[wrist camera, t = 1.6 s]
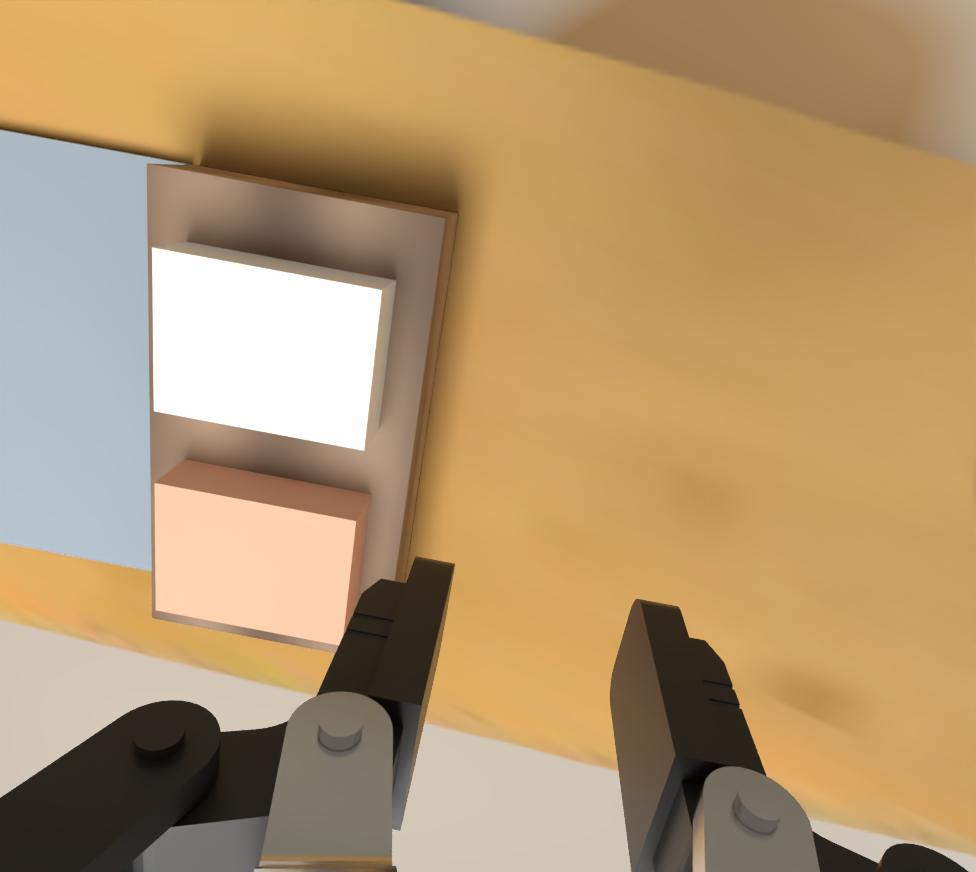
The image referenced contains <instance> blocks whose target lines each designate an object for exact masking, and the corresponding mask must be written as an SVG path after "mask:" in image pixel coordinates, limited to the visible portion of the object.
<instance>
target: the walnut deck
mask: <svg viewBox="0 0 976 872" xmlns="http://www.w3.org/2000/svg"><path fill="white" fill-rule="evenodd" d="M458 214H459V213H454V212H449V211H443V210H438V209H433V208H427V207H422V206H416V205H411V204H405V203H400V202H394V201H389V200H384V199H378V198H373V197H367V196H362V195H356V194H351V193H345V192H340V191H335V190H329V189H324V188H318V187H313V186H307V185H302V184H296V183H291V182H286V181H280V180H275V179H269V178H264V177H258V176H253V175H247V174H242V173H237V172H231V171H226V170H220V169H215V168H209V167H204V166H196V165H172V164H148V163H147V234H148V315H149V395H150V476H151V556H152V618H155V619H160V620H165V621H170V622H176V623H181V624H186V625H191V626H196V627H202V628H207V629H212V630H217V631H223V632H228V633H233V634H238V635H243V636H249V637H254V638H259V639H264V640H269V641H275V642H280V643H285V644H290V645H296V646H301V647H306V648H311V649H316V650H322V651H327V652H332V653H336V651H337V649H338V646H339V645H335V644H329V643H324V642H319V641H314V640H308V639H303V638H298V637H293V636H288V635H282V634H277V633H272V632H267V631H262V630H256V629H251V628H246V627H241V626H235V625H230V624H225V623H220V622H215V621H209V620H204V619H199V618H194V617H188V616H183V615H178V614H173V613H168V612H162V611H157V610H156V582H155V482H156V481H158V480H159V479H160V478H162V477H163V476H164V475H165V474H167V473H168V472H169V471H171V470H172V469H173V468H174V467H176V466H177V465H178V464H180V463H181V462H182V461H183V460H185V459H186V460H191V461H197V462H202V463H207V464H213V465H218V466H223V467H228V468H234V469H239V470H244V471H250V472H255V473H260V474H266V475H271V476H276V477H281V478H287V479H292V480H297V481H303V482H308V483H313V484H318V485H324V486H329V487H334V488H340V489H345V490H350V491H356V492H361V493H366V494H371V497H370V506H369V514H368V523H367V531H366V539H365V548H364V556H363V565H362V573H361V581H360V590H359V598H358V601H359V599H360V596H361V594H362V593H363V592H364V591H365V590H367V589H368V588H369V587H371V586H372V585H373V584H374V583H376V582H377V581H378V580H380V579H386V580H392V581H397V582H402V583H404V582H405V575H406V568H407V561H408V555H409V548H410V541H411V534H412V527H413V521H414V514H415V507H416V500H417V493H418V487H419V480H420V473H421V466H422V459H423V453H424V446H425V439H426V432H427V425H428V419H429V412H430V405H431V398H432V391H433V384H434V378H435V371H436V364H437V357H438V350H439V344H440V337H441V330H442V323H443V316H444V310H445V303H446V296H447V289H448V282H449V276H450V269H451V262H452V255H453V248H454V242H455V235H456V228H457V221H458ZM181 242H192V243H197V244H202V245H208V246H213V247H219V248H224V249H229V250H235V251H240V252H246V253H251V254H257V255H262V256H267V257H273V258H278V259H284V260H289V261H294V262H300V263H305V264H311V265H316V266H321V267H327V268H332V269H338V270H343V271H348V272H354V273H359V274H365V275H370V276H375V277H381V278H386V279H392V280H396V288H395V296H394V305H393V313H392V321H391V330H390V338H389V346H388V355H387V363H386V372H385V380H384V388H383V397H382V405H381V414H380V422H379V429H378V430H377V432H376V433H375V435H374V436H373V438H372V440H371V441H370V443H369V444H368V446H367V447H366V449H365V450H364V451H363V450H358V449H352V448H347V447H342V446H336V445H331V444H326V443H320V442H315V441H310V440H304V439H299V438H294V437H288V436H283V435H278V434H273V433H267V432H262V431H257V430H251V429H246V428H241V427H235V426H230V425H225V424H219V423H214V422H209V421H203V420H198V419H193V418H187V417H182V416H177V415H171V414H166V413H161V412H156V411H154V383H153V284H152V247H158V246H164V245H170V244H175V243H181Z"/></svg>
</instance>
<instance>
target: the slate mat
mask: <svg viewBox="0 0 976 872" xmlns="http://www.w3.org/2000/svg"><path fill="white" fill-rule="evenodd" d="M147 163H148V164H172V165H192V164H188V163H182V162H177V161H171V160H166V159H160V158H155V157H149V156H144V155H139V154H133V153H128V152H122V151H117V150H111V149H106V148H100V147H95V146H90V145H84V144H79V143H73V142H68V141H62V140H57V139H51V138H46V137H41V136H35V135H30V134H24V133H19V132H13V131H8V130H2V129H0V542H1V543H6V544H11V545H16V546H22V547H27V548H32V549H37V550H43V551H48V552H53V553H58V554H64V555H69V556H74V557H79V558H85V559H90V560H95V561H100V562H106V563H111V564H116V565H121V566H126V567H132V568H137V569H142V570H147V571H152V556H151V476H150V395H149V315H148V234H147Z"/></svg>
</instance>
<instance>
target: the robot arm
mask: <svg viewBox="0 0 976 872" xmlns="http://www.w3.org/2000/svg"><path fill="white" fill-rule="evenodd" d="M454 568H455V564H453V563H448V562H442V561H437V560H432V559H427V558H421V557H415V560H414V562H413V565H412V568H411V571H410V574H409V577H408V580H407V583H402V582H397V581H392V580H386V579H380V580H378V581H377V582H376V583H374V584H373V585H372V586H371V587H369V588H368V589H367V590H365V591H364V592H363V593H362V594H361V596H360V599H359V601H358V603H357V606H356V608H355V610H354V612H353V616H352V617H351V619H350V621H349V624H348V626H347V628H346V632H345V633H344V635H343V637H342V640H341V642H340V644H339V646H338V649H337V651H336V653H335V655H334V658H333V660H332V662H331V664H330V667H329V669H328V671H327V674H326V676H325V678H324V680H323V683H322V685H321V687H320V689H319V692H318V694H317V696H316V697H313V698H311V699H309V700H308V701H306V702H304V703H303V704H302V705H301V706H299V707H298V708H297V709H296V710H295V712H294V713H293V714H292V716H291V717H290V719H289V721H287V722H285V723H282V724H279V725H276V726H273V727H268V728H263V729H256V730H242V731H230V732H220V727H219V724H218V722H217V720H216V718H215V717H214V716H213V714H212V713H211V712H209V711H208V710H207V709H205V708H204V707H201V706H200V705H197V704H194V703H191V702H185V701H173V700H172V701H171V700H170V701H160V702H155V703H150V704H147V705H144V706H141V707H138V708H136V709H134V710H132V711H130V712H128V713H126V714H125V715H123V716H121V717H120V718H118V719H117V720H115V721H114V722H112V723H111V724H109V725H108V726H107V727H105V728H104V729H102V730H100V731H99V732H98V733H96V734H94V735H93V736H92V737H90V738H89V739H87V740H86V741H84V742H83V743H81V744H80V745H78V746H77V747H75V748H74V749H72V750H71V751H69V752H68V753H66V754H65V755H63V756H62V757H60V758H59V759H57V760H56V761H54V762H53V763H51V764H50V765H48V766H47V767H46V768H44V769H43V770H41V771H40V772H38V773H37V774H35V775H34V776H32V777H31V778H29V779H28V780H26V781H25V782H23V783H22V784H20V785H19V786H17V787H16V788H14V789H13V790H11V791H10V792H8V793H7V794H5V795H4V796H2V797H1V798H0V872H397V869H396V866H392V829H395V830H400V829H401V825H402V820H403V816H404V811H405V807H406V802H407V798H408V793H409V789H410V784H411V780H412V775H413V771H414V766H415V762H416V757H417V753H418V748H419V744H420V739H421V735H422V730H423V725H424V721H425V716H426V712H427V707H428V703H429V698H430V694H431V689H432V685H433V680H434V676H435V671H436V667H437V662H438V657H439V652H440V647H441V641H442V636H443V630H444V625H445V619H446V613H447V608H448V602H449V596H450V591H451V585H452V580H453V574H454ZM732 686H733V685H732V682H731V680H730V677H729V674H728V672H727V669H726V666H725V664H724V662H723V661H722V660H721V658H720V657H719V656H718V655H717V654H716V653H715V651H714V650H713V649H712V648H711V647H710V646H709V645H708V643H707V642H706V641H705V640H699V639H694V638H689V635H688V632H687V629H686V626H685V623H684V620H683V617H682V613H681V611H680V609H679V607H677V606H672V605H667V604H662V603H656V602H651V601H646V600H641V599H636V600H635V601H634V603H633V605H632V608H631V611H630V614H629V617H628V621H627V624H626V628H625V631H624V634H623V638H622V641H621V644H620V648H619V651H618V655H617V658H616V661H615V665H614V669H613V673H612V679H611V688H610V705H611V713H612V721H613V729H614V737H615V745H616V753H617V761H618V769H619V777H620V784H621V792H622V800H623V808H624V816H625V824H626V832H627V840H628V848H629V856H630V863H631V871H632V872H968V871H967V870H965V869H964V868H963V867H961V866H960V865H959V864H957V863H956V862H954V861H952V860H951V859H949V858H948V857H946V856H944V855H942V854H940V853H938V852H936V851H934V850H932V849H929V848H926V847H923V846H919V845H915V844H906V843H904V844H896V845H894V846H891V847H890V848H889V849H887V850H886V852H885V853H884V855H883V857H882V859H881V860H880V862H879V863H876V862H874V861H872V860H870V859H868V858H866V857H863V856H861V855H859V854H857V853H855V852H853V851H850V850H848V849H846V848H844V847H842V846H840V845H837V844H835V843H833V842H831V841H829V840H827V839H825V838H823V837H821V836H820V835H818V834H816V833H815V832H813V831H812V828H811V825H810V821H809V819H808V817H807V815H806V813H805V812H804V810H803V809H802V807H801V805H800V804H799V803H798V802H797V801H796V799H795V798H794V797H793V796H792V795H791V794H790V793H789V792H788V791H787V790H786V789H784V788H783V787H782V786H781V785H779V784H778V783H776V782H775V781H773V780H772V779H770V778H768V777H767V776H766V773H765V771H764V768H763V765H762V763H761V760H760V757H759V755H758V752H757V749H756V747H755V744H754V741H753V739H752V736H751V733H750V731H749V728H748V725H747V723H746V720H745V717H744V714H743V712H742V709H739V705H740V704H739V701H738V698H737V696H736V693H735V690H732Z"/></svg>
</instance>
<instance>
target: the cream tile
mask: <svg viewBox="0 0 976 872" xmlns="http://www.w3.org/2000/svg"><path fill="white" fill-rule="evenodd" d="M152 284H153V383H154V411H156V412H161V413H166V414H171V415H177V416H182V417H187V418H193V419H198V420H203V421H209V422H214V423H219V424H225V425H230V426H235V427H241V428H246V429H251V430H257V431H262V432H267V433H273V434H278V435H283V436H288V437H294V438H299V439H304V440H310V441H315V442H320V443H326V444H331V445H336V446H342V447H347V448H352V449H358V450H363V451H364V450H365V449H366V447H367V446H368V444H369V443H370V441H371V440H372V438H373V436H374V435H375V433H376V432H377V430H378V429H379V422H380V414H381V405H382V397H383V388H384V380H385V372H386V363H387V355H388V346H389V338H390V330H391V321H392V313H393V305H394V296H395V288H396V280H392V279H386V278H381V277H375V276H370V275H365V274H359V273H354V272H348V271H343V270H338V269H332V268H327V267H321V266H316V265H311V264H305V263H300V262H294V261H289V260H284V259H278V258H273V257H267V256H262V255H257V254H251V253H246V252H240V251H235V250H229V249H224V248H219V247H213V246H208V245H202V244H197V243H192V242H181V243H175V244H170V245H164V246H158V247H152Z"/></svg>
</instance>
